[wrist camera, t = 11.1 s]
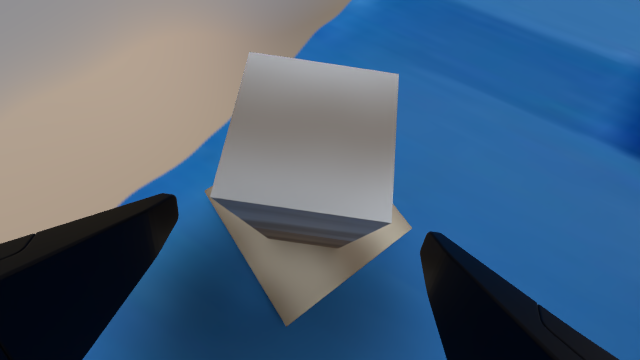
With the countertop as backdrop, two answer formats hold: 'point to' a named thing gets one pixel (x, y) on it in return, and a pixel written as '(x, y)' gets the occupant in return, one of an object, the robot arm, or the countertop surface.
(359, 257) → the beige square block
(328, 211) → the gray square block
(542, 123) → the countertop surface
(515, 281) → the countertop surface
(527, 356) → the robot arm
